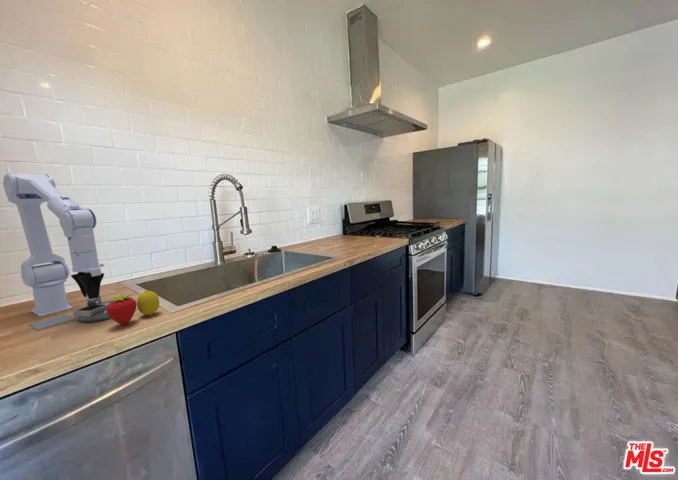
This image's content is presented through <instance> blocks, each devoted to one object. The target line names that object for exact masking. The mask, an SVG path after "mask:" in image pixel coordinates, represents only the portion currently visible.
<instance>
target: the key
mask: <svg viewBox="0 0 678 480" xmlns="http://www.w3.org/2000/svg"><path fill="white" fill-rule="evenodd" d="M101 292H102V291H101V290H100V291H99V297H97V298H93V299H89V298H88V296H87V294H86V296H87V297H86V304H87V306H96V305H99V304H101V302H102V293H101Z"/></svg>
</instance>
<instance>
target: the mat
mask: <svg viewBox="0 0 678 480" xmlns="http://www.w3.org/2000/svg"><path fill="white" fill-rule="evenodd" d="M72 321H75V318H74V317H71V316H70V315H68V314H62V315H58V316H55V317H51V318H48V319H47V318H46V319H43V320H40V321H36V322H32V323H28V326H30V327H31V328H32V329H34V330H35V331H36V332H37V331H40V330H45V329H48V328H52V327H55V326H59V325H62V324H66V323H69V322H72Z"/></svg>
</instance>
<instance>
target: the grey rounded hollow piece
mask: <svg viewBox="0 0 678 480" xmlns="http://www.w3.org/2000/svg"><path fill="white" fill-rule="evenodd" d="M112 300H113V299H112ZM112 300H107V301H101V304H99V305H96V306H84V307H80V308H76V309H75V310H74V309H73V311H72V314H73V317H76V319H77V322H78V323H83V324H85V323H86V324H88V323H89V324H91V323H97V322H102V321H108V320H112V319H111V318H110V317H109V316H108V314H107V313H106V309H107V306H108V305H109V304H110V303H112V302H114V301H112ZM109 301H111V302H109Z"/></svg>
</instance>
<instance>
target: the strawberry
mask: <svg viewBox="0 0 678 480" xmlns="http://www.w3.org/2000/svg"><path fill="white" fill-rule="evenodd" d="M117 292H118V293H119V294H121V296H114V297H113V298H114V299H112V301H114V302H112V303H110V304H109V305H108V306H107V309H106V313H107V314H108V316H109V317H110V318H111V319H110V320H111V321H114V322H115V323H116V324H119V325H121V326H122V327H126V326H127V325H129V323H130V321H131V320H132V318H133V317H134V315H135V313H136V310H137V301H136V300H135V299H134V298H133V297H131V295H132V294H128V295H124V294H123V293H121V292H120V291H118V290H117ZM108 301H109V302H111V300H108Z"/></svg>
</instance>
